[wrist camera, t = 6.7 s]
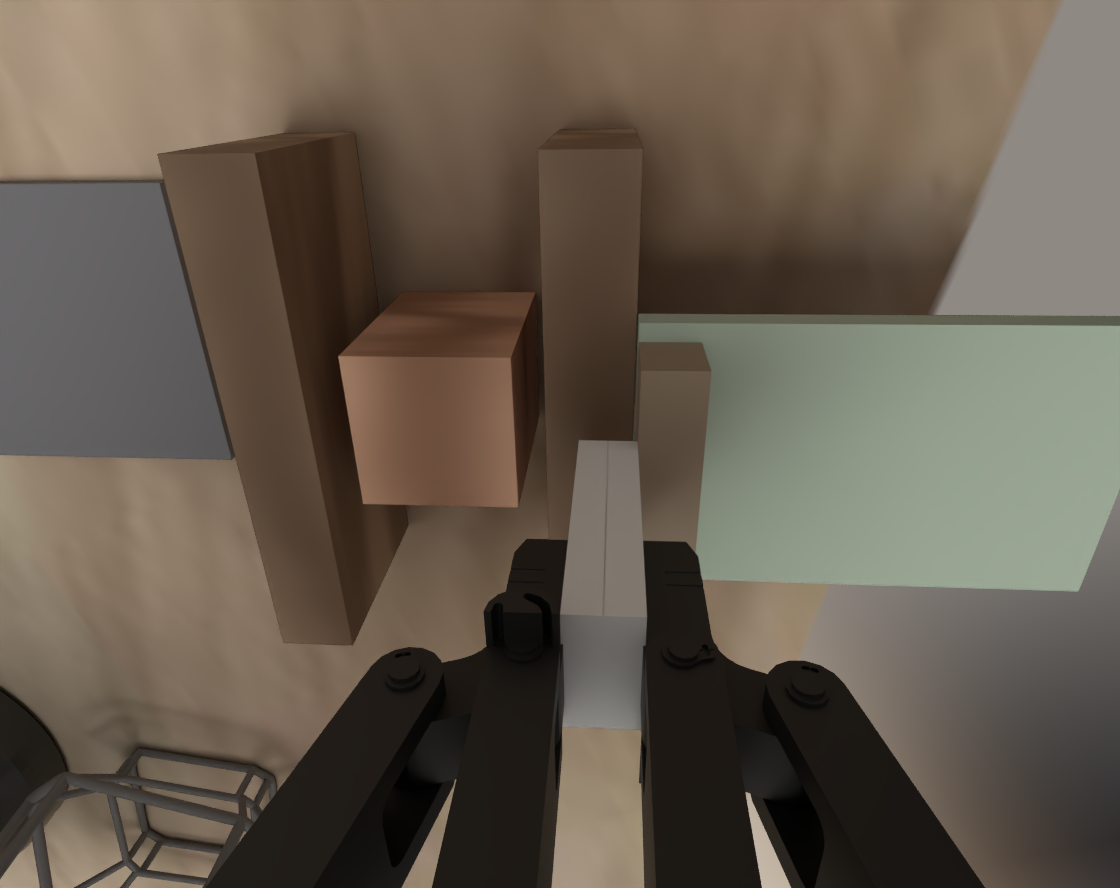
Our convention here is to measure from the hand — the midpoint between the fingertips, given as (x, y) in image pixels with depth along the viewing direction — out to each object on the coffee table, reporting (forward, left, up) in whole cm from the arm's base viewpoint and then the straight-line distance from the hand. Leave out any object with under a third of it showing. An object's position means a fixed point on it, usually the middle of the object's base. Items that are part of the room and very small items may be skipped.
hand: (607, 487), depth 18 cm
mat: (-21, +1, -10) cm, 23 cm away
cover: (+7, 0, -2) cm, 8 cm away
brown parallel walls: (-5, 0, -10) cm, 11 cm away
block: (-5, 0, -10) cm, 11 cm away
